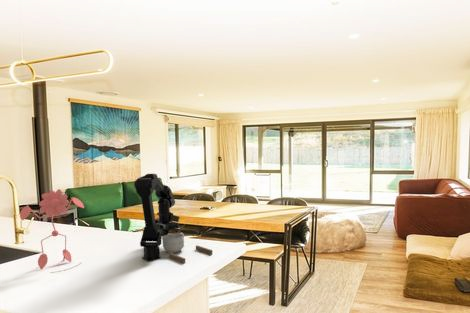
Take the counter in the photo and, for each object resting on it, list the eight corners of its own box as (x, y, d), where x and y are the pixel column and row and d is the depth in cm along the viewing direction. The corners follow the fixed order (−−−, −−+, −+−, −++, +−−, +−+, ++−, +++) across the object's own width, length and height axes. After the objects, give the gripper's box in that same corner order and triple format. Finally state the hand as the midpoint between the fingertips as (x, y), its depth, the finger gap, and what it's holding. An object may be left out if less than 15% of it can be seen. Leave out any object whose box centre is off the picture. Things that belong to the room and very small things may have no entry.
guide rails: (183, 263, 155) (183, 259, 155) (168, 257, 164) (168, 253, 164) (212, 254, 167) (212, 250, 167) (197, 249, 176) (197, 245, 176)
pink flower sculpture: (20, 269, 152) (17, 191, 150) (81, 256, 170) (78, 185, 168) (28, 280, 141) (24, 195, 139) (92, 264, 158) (90, 188, 156)
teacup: (172, 256, 166) (172, 239, 166) (158, 252, 173) (157, 236, 172) (193, 248, 177) (192, 233, 177) (178, 245, 184) (177, 230, 184)
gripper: (187, 210, 180) (187, 239, 181) (167, 206, 194) (168, 233, 194) (168, 213, 172) (169, 244, 173) (149, 209, 186) (150, 237, 187)
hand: (165, 239), depth 182 cm, fingers closed
